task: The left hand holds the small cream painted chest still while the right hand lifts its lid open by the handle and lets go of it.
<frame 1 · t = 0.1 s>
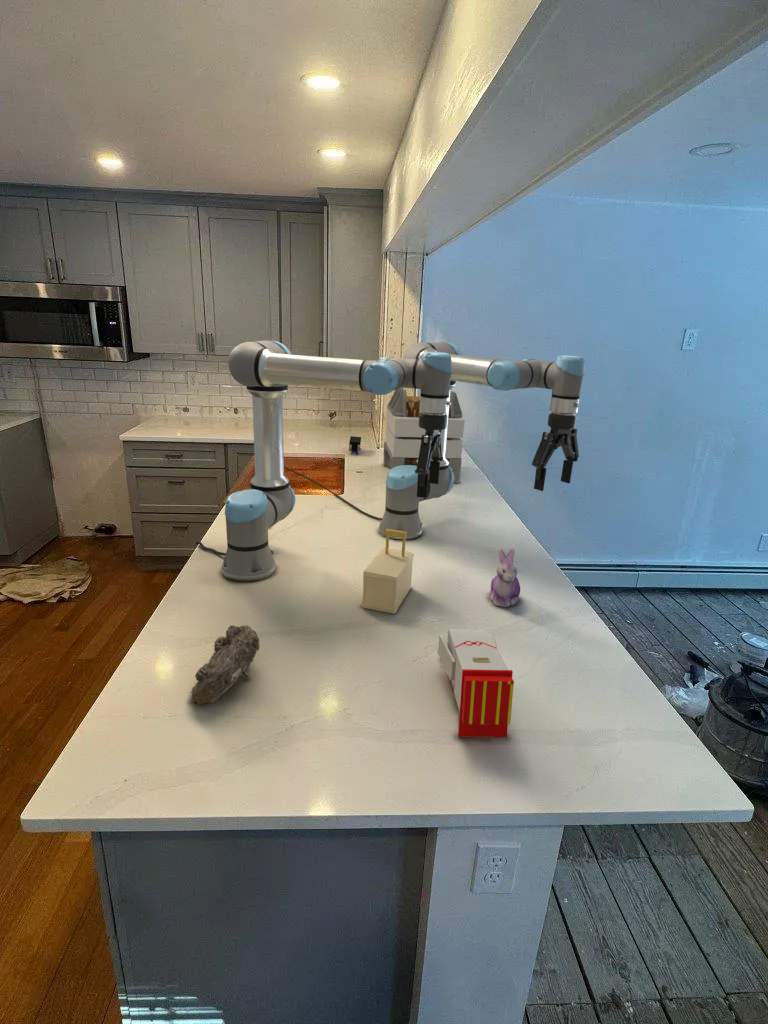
left hand: (427, 490, 157), 28 cm above the counter, tool pointing down, fingers open, 13 cm apart
right hand: (552, 485, 166), 28 cm above the counter, tool pointing down, fingers open, 13 cm apart
lid: (390, 551, 152), point 14 cm above the counter, hinge at 0.0°
figurine: (504, 600, 157), on the counter
figurine character: (354, 452, 309), on the counter
fossil: (230, 675, 120), on the counter
transformer: (419, 473, 275), on the counter
chest: (387, 597, 156), on the counter
white and red box: (469, 691, 119), on the counter
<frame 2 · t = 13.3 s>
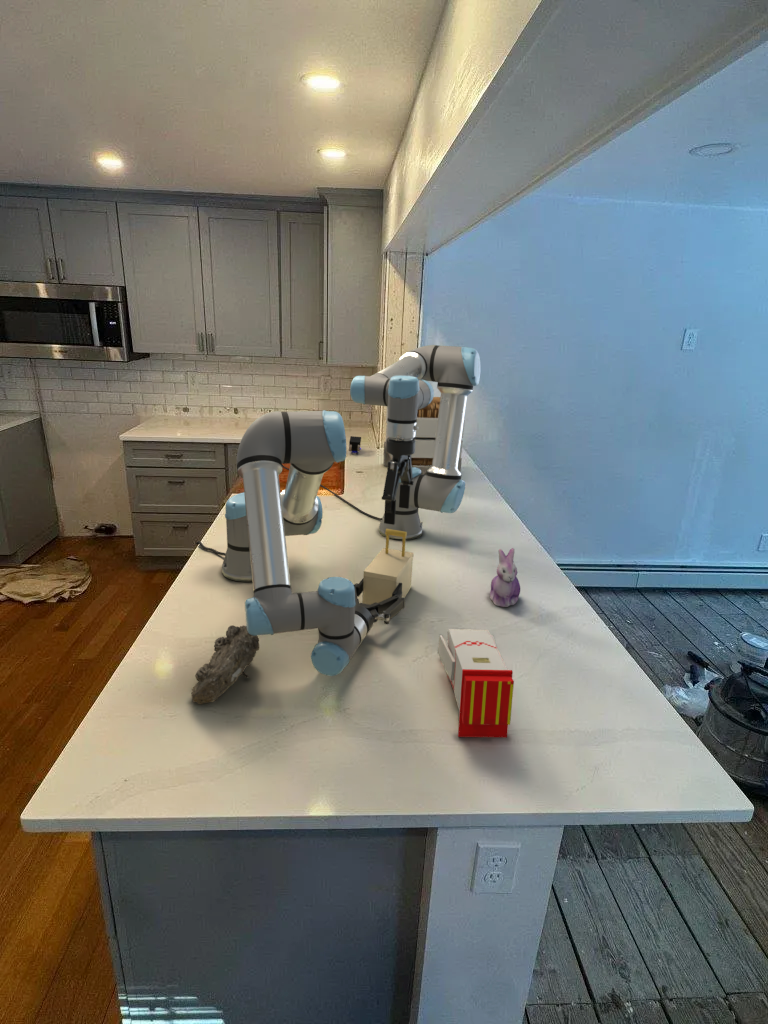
left hand: (383, 584, 149), 6 cm above the counter, tool horizontal, fingers closed on chest, 9 cm apart
right hand: (396, 515, 153), 22 cm above the counter, tool pointing down, fingers open, 13 cm apart
chest: (387, 597, 156), on the counter, touching left hand
everything else where it was.
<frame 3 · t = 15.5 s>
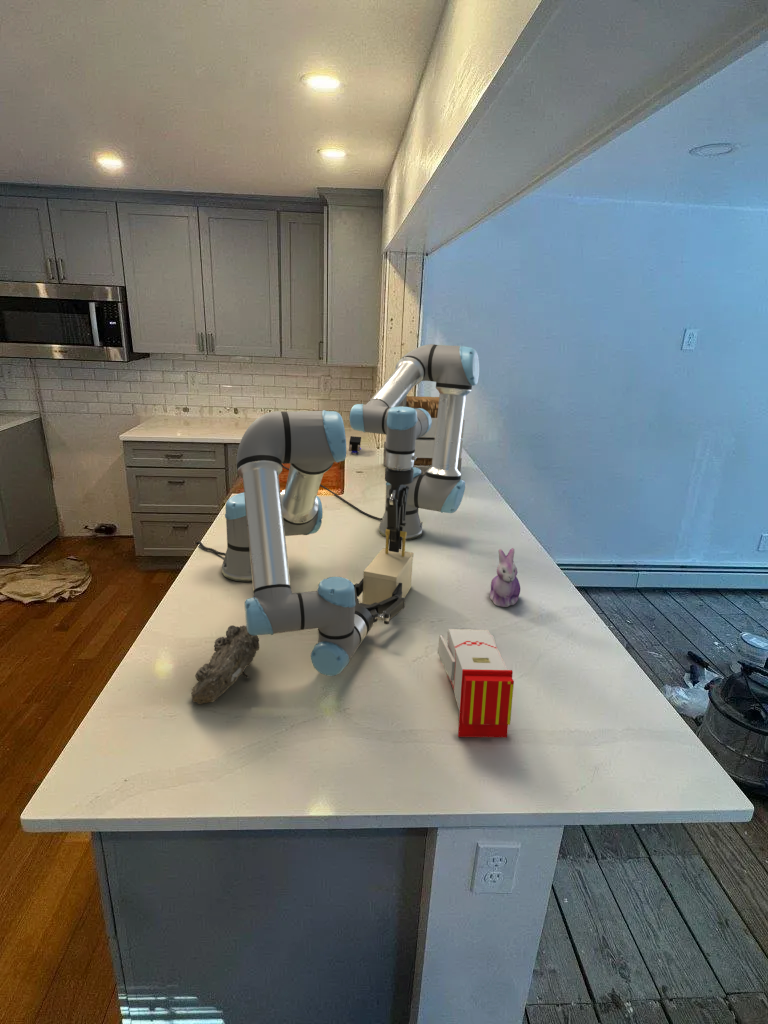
left hand: (382, 584, 149), 6 cm above the counter, tool horizontal, fingers closed on chest, 9 cm apart
right hand: (395, 549, 156), 12 cm above the counter, tool pointing down, fingers closed on lid, 2 cm apart
lid: (390, 551, 152), point 14 cm above the counter, hinge at 0.0°, touching right hand
chest: (387, 597, 156), on the counter, touching left hand
everything else where it was.
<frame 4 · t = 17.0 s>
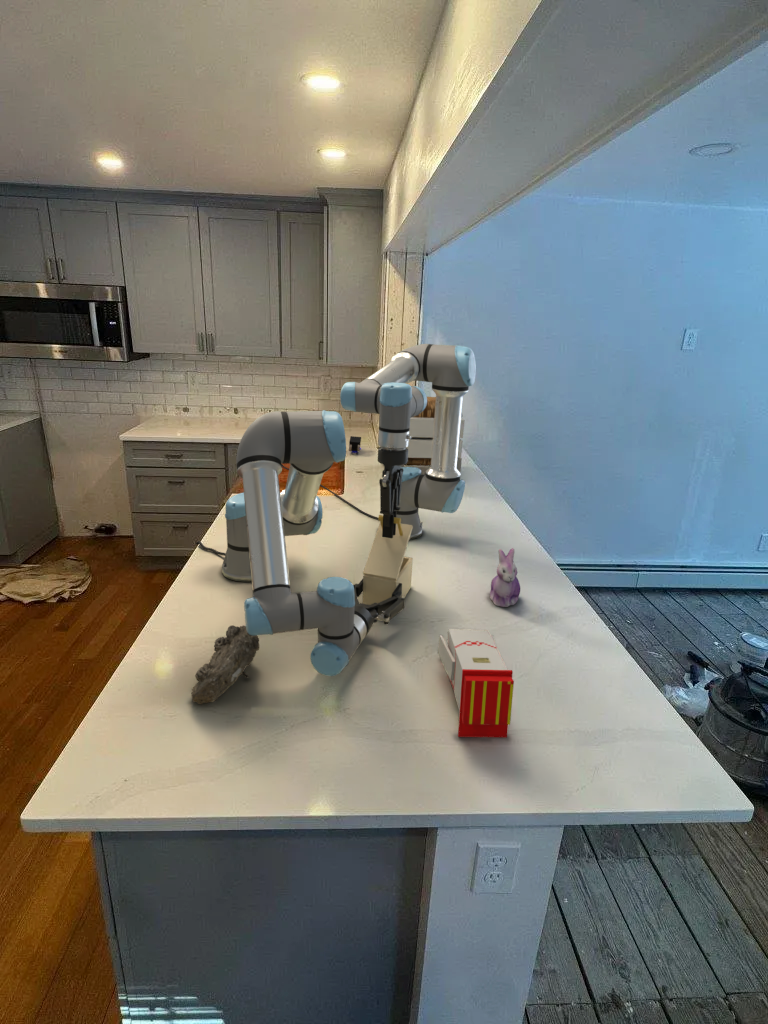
left hand: (382, 584, 149), 6 cm above the counter, tool horizontal, fingers closed on chest, 9 cm apart
right hand: (388, 535, 148), 19 cm above the counter, tool pointing down, fingers closed on lid, 2 cm apart
lid: (386, 542, 147), point 18 cm above the counter, hinge at 35.5°, touching right hand
chest: (387, 597, 156), on the counter, touching left hand
everything else where it was.
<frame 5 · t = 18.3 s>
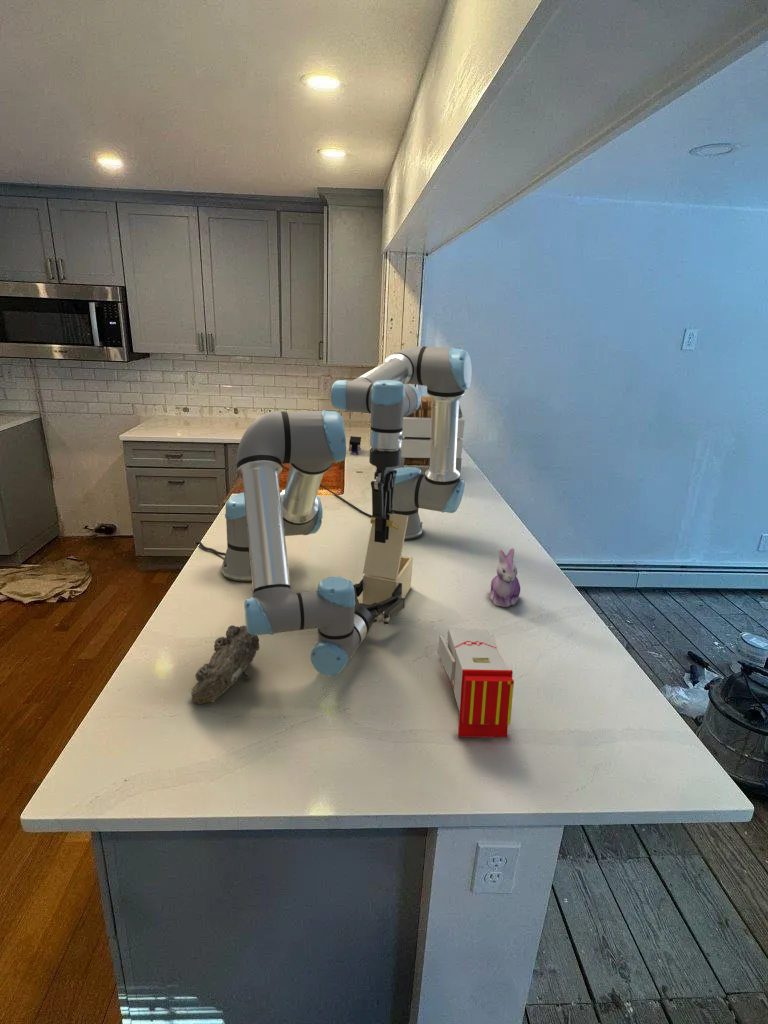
left hand: (382, 584, 149), 6 cm above the counter, tool horizontal, fingers closed on chest, 9 cm apart
right hand: (381, 540, 142), 20 cm above the counter, tool pointing down, fingers closed
lid: (382, 543, 143), point 19 cm above the counter, hinge at 61.1°
chest: (387, 597, 156), on the counter, touching left hand
everything else where it was.
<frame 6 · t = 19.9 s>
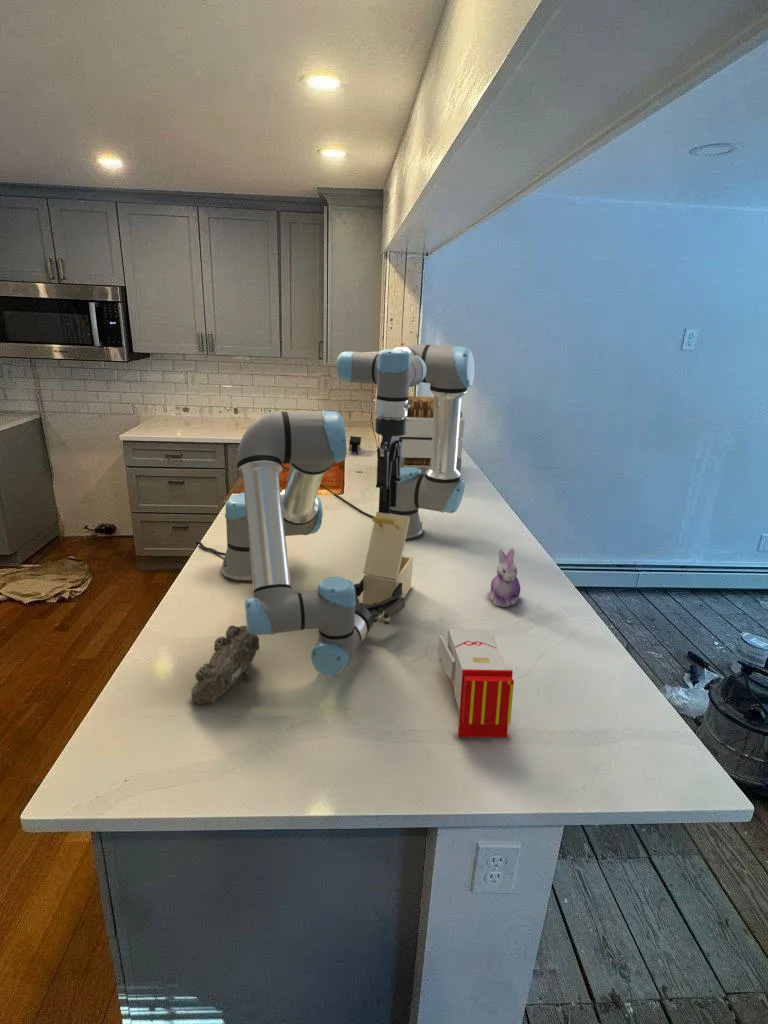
left hand: (383, 584, 149), 6 cm above the counter, tool horizontal, fingers closed on chest, 9 cm apart
right hand: (387, 509, 143), 27 cm above the counter, tool pointing down, fingers open, 5 cm apart
lid: (383, 542, 144), point 19 cm above the counter, hinge at 55.5°
chest: (387, 596, 156), on the counter, touching left hand
everything else where it was.
when the left hand's fingers open (6 cm above the counter, at t = 22.3 s): chest stays where it is, on the counter.
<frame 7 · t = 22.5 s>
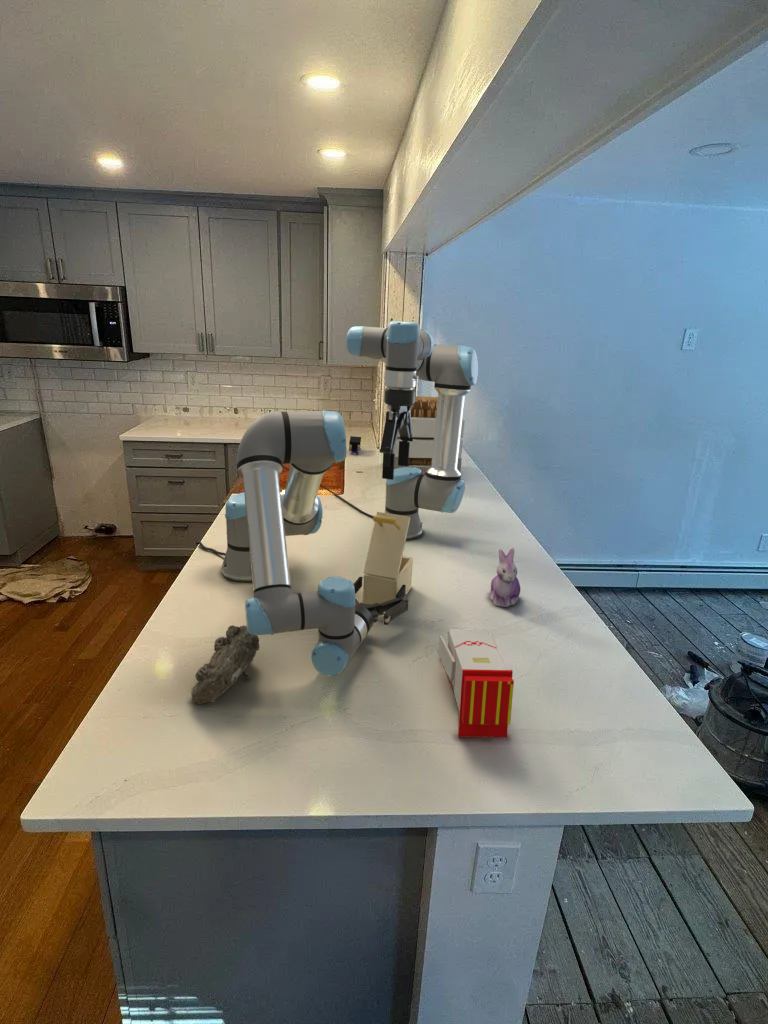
left hand: (382, 585, 149), 6 cm above the counter, tool horizontal, fingers open, 11 cm apart
right hand: (395, 472, 145), 35 cm above the counter, tool pointing down, fingers open, 13 cm apart
lid: (383, 541, 144), point 19 cm above the counter, hinge at 54.8°
chest: (387, 597, 156), on the counter
everything else where it was.
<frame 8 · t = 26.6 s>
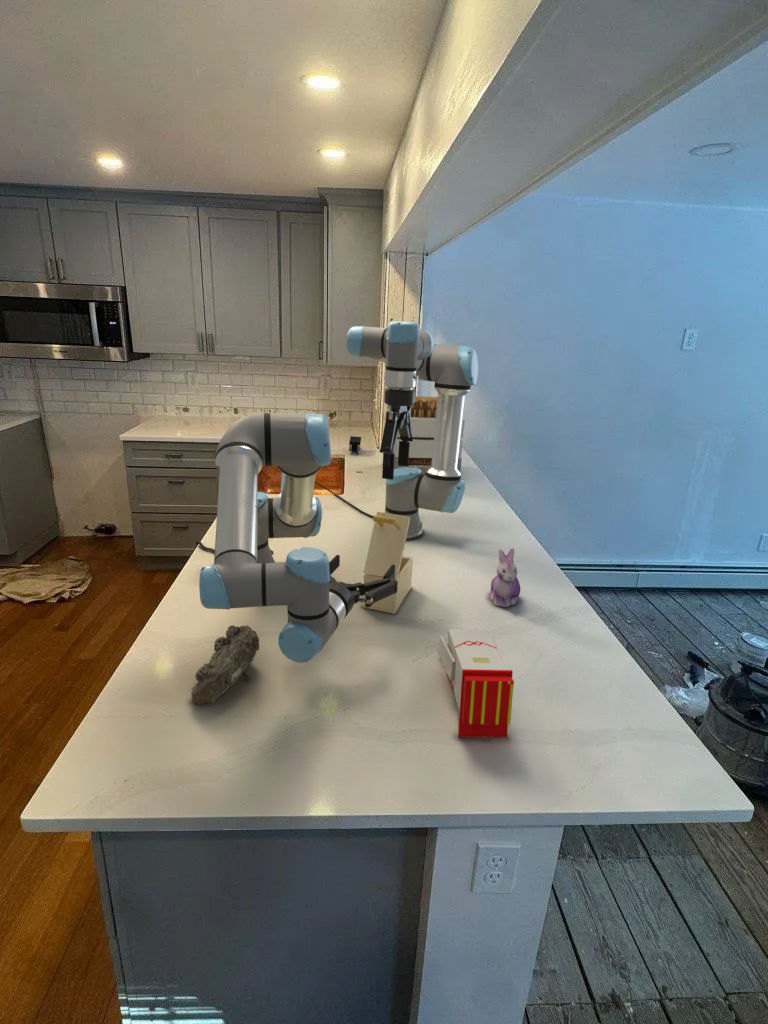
left hand: (365, 564, 132), 18 cm above the counter, tool horizontal, fingers open, 13 cm apart
right hand: (395, 472, 145), 35 cm above the counter, tool pointing down, fingers open, 13 cm apart
nothing on the counter moved.
at the end: lid at +55° (first picture: +0°); the left hand is holding nothing; the right hand is holding nothing; chest tilted 0°; chest never tilted more than 1° during the clip; chest moved 0.1 cm from its start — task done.
